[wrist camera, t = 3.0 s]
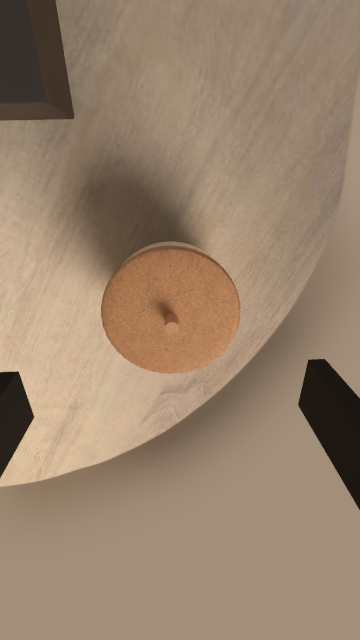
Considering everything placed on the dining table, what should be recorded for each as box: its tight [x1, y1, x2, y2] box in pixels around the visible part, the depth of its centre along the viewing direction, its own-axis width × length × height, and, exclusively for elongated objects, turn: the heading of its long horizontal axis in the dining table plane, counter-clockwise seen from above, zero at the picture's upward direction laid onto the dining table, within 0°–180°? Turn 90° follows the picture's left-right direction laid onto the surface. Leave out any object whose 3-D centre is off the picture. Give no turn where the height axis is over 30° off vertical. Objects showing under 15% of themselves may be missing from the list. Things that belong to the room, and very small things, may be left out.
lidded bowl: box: [101, 241, 240, 374], centre depth 24 cm, size 11×11×9 cm
